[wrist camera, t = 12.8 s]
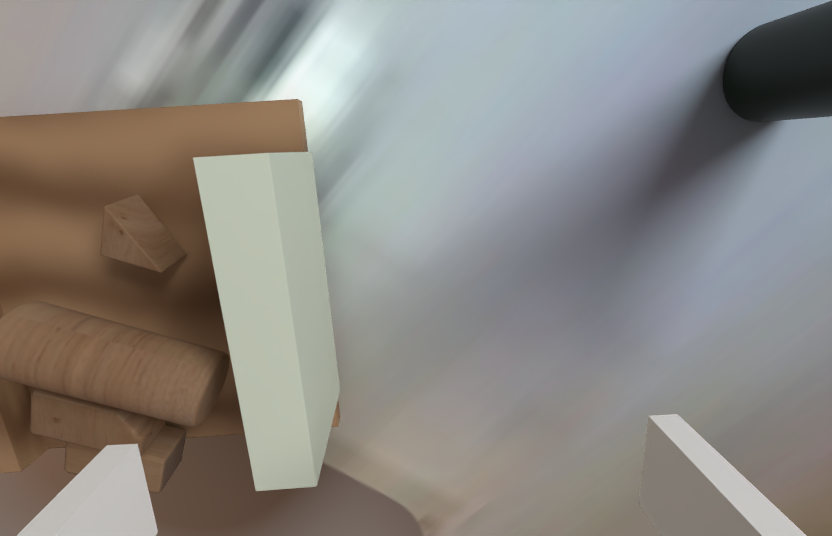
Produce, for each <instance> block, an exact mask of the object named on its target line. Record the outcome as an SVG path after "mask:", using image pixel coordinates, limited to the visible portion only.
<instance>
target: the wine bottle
mask: <svg viewBox="0 0 832 536" xmlns="http://www.w3.org/2000/svg"><path fill="white" fill-rule="evenodd" d="M723 86H724V93H725V96H726V99H727V101H728V103H729V105H730V107H731V108H732V109H733V110H734V111H735V112H736V113H737V114H738V115H739V116H741V117H743V118H745V119H747V120H751V121H757V122H763V121H777V120H790V119H803V118H816V117H829V116H832V1H830V2H827V3H824V4H821V5H818V6H815V7H812V8H809V9H806V10H804V11H801V12H798V13H795V14H792V15H789V16H786V17H783V18H780V19H777V20H774V21H772V22H769V23H766V24H763V25H760V26H758V27H756V28H755V29H753V30H751V31H750V32H749V33H747V34H746V35H745V36H744V37H743V38H742V39H741V40H740V41H739V42H738V43H737V45H736V46H735V47H734V49H733V50H732V52H731V54H730V56H729V58H728V60H727V63H726V66H725V70H724V77H723Z"/></svg>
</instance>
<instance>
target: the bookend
mask: <svg viewBox="0 0 832 536" xmlns="http://www.w3.org/2000/svg"><path fill="white" fill-rule="evenodd" d="M193 161H194V166H195V171H196V177H197V182H198V187H199V192H200V198H201V203H202V208H203V214H204V219H205V224H206V230H207V235H208V240H209V245H210V251H211V256H212V261H213V267H214V272H215V277H216V283H217V288H218V293H219V298H220V304H221V309H222V314H223V320H224V325H225V330H226V336H227V341H228V346H229V351H230V357H231V362H232V367H233V373H234V378H235V383H236V389H237V394H238V399H239V404H240V410H241V415H242V420H243V426H244V431H245V436H246V441H247V447H248V452H249V457H250V463H251V468H252V473H253V478H254V484H255V489H256V491H264V490H275V489H289V488H302V487H314V486H317V483H318V479H319V475H320V471H321V467H322V463H323V459H324V454H325V450H326V446H327V442H328V438H329V434H330V430H331V426H332V421H333V417H334V413H335V409H336V405H337V401H338V397H339V393H340V385H339V377H338V368H337V360H336V351H335V343H334V335H333V326H332V318H331V310H330V301H329V293H328V284H327V276H326V268H325V259H324V251H323V242H322V234H321V226H320V217H319V209H318V201H317V192H316V184H315V175H314V167H313V159H312V152H281V153H258V154H242V155H226V156H210V157H194V158H193Z"/></svg>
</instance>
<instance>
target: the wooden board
mask: <svg viewBox="0 0 832 536" xmlns="http://www.w3.org/2000/svg"><path fill="white" fill-rule="evenodd" d="M281 152H308V148H307V140H306V132H305V124H304V115H303V107H302V101H300V100H298V99H292V100H276V101H259V102H243V103H226V104H209V105H193V106H176V107H160V108H143V109H127V110H110V111H93V112H77V113H60V114H44V115H27V116H10V117H0V318H1V317H2V316H3V315H4V314H5V313H7V312H8V311H10V310H11V309H13V308H14V307H16V306H18V305H20V304H23V303H26V302H34V301H42V302H46V303H50V304H53V305H57V306H60V307H64V308H68V309H71V310H75V311H78V312H82V313H86V314H89V315H93V316H97V317H100V318H104V319H107V320H111V321H115V322H118V323H122V324H125V325H129V326H133V327H136V328H140V329H143V330H147V331H151V332H154V333H158V334H162V335H165V336H169V337H172V338H176V339H180V340H183V341H187V342H190V343H194V344H198V345H201V346H205V347H208V348H212V349H216V350H219V351H223V352H225V353H226V354H227V355H229V369H228V373H227V377H226V380H225V383H224V385H223V388H222V390H221V393H220V395H219V397H218V399H217V401H216V403H215V405H214V407H213V408H212V410H211V412H210V413H209V415H208V416H207V418H206V419H205V420H204V421H203V422H202V423H201V424H200V425H199V426H195V427H189V426H185V425H181V424H177V423H173V422H169V421H165V424H167V425H171V426H175V427H179V428H183V429H185V430H186V437H185V438H193V437H207V436H220V435H233V434H245V431H244V426H243V420H242V415H241V410H240V404H239V399H238V394H237V389H236V383H235V378H234V373H233V367H232V362H231V357H230V351H229V346H228V341H227V336H226V330H225V325H224V320H223V314H222V309H221V304H220V298H219V293H218V288H217V283H216V277H215V272H214V267H213V261H212V256H211V251H210V245H209V240H208V235H207V230H206V224H205V219H204V214H203V208H202V203H201V198H200V192H199V187H198V182H197V177H196V171H195V166H194V161H193V158H194V157H210V156H226V155H242V154H258V153H281ZM134 195H139V196H140V197H141V199H142V200H143V201H144V202H145V204H146V205H147V206H148V207H149V208H150V210H151V211H152V212H153V213H154V215H155V216H156V217H157V218H158V219H159V221H160V222H161V223H162V224H163V226H164V227H165V228H166V229H167V230H168V232H169V233H170V234H171V235H172V237H173V238H174V239H175V240H176V241H177V243H178V244H179V245H180V246H181V248H182V249H183V250H184V251H185V252H186V254H187V255H186V256H185V257H183V258H182V259H181V260H179V261H178V262H176V263H175V264H173V265H172V266H171V267H169V268H168V269H166V270H165V271H163V272H162V273H159V272H156V271H152V270H149V269H146V268H142V267H139V266H135V265H132V264H128V263H125V262H122V261H118V260H115V259H111V258H108V257H105V256H101V255H100V251H101V239H102V227H103V214H104V206H106V205H109V204H112V203H115V202H117V201H120V200H123V199H126V198H129V197H131V196H134ZM36 389H37V388H35V387H32V386H28V385H24V384H20V383H16V382H12V381H8V380H4V379H0V473H11V472H21V471H23V470H24V469H25V468H26V467H27V466H29V465H30V464H31V463H32V462H33V461H34V460H35V459H37V458H38V457H39V456H40V455H41V454H43V453H44V452H45V451H46V450H47V449H49V448H61V447H62V448H63V447H66V442H65V441H60V440H56V439H52V438H48V437H44V436H40V435H36V434H33V433H31V431H30V423H31V395H32V393H33V391H34V390H36ZM339 419H340V412H339V404H338V401H337V405H336V409H335V413H334V417H333V421H332V426H331V427H338V424H339Z"/></svg>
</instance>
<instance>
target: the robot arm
mask: <svg viewBox="0 0 832 536" xmlns="http://www.w3.org/2000/svg"><path fill="white" fill-rule="evenodd" d="M639 505H640V506H641V508H642V509H643V511H644V512H645V513H646V515H647V516H648V518H649V519H650V521H651V522H652V524H653V525H654V527H655V528H656V530H657V531H658V532H659V534H660V535H661V536H806V535H805V534H804V533H803V532H802V531H801V530H800V529H799V528H798V527H797V526H796V525H795V524H793V523H792V522H791V521H790V520H789V519H788V518H787V517H786V516H785V515H784V514H783V513H782V512H781V511H780V510H779V509H778V508H776V507H775V506H774V505H773V504H772V503H771V502H770V501H769V500H768V499H767V498H766V497H765V496H764V495H763V494H762V493H761V492H759V491H758V490H757V489H756V488H755V487H754V486H753V485H752V484H751V483H750V482H749V481H748V480H747V479H746V478H745V477H744V476H742V475H741V474H740V473H739V472H738V471H737V470H736V469H735V468H734V467H733V466H732V465H731V464H730V463H729V462H728V461H727V460H725V459H724V458H723V457H722V456H721V455H720V454H719V453H718V452H717V451H716V450H715V449H714V448H713V447H712V446H711V445H710V444H708V443H707V442H706V441H705V440H704V439H703V438H702V437H701V436H700V435H699V434H698V433H697V432H696V431H695V430H694V429H693V428H691V427H690V426H689V425H688V424H687V423H686V422H685V421H684V420H683V419H682V418H681V417H680V416H679V415H678V414H674V415H655V416H648V425H647V434H646V443H645V452H644V461H643V470H642V479H641V488H640V496H639ZM157 533H158V530H157V526H156V522H155V517H154V513H153V508H152V504H151V500H150V496H149V491H148V487H147V482H146V478H145V474H144V469H143V465H142V461H141V456H140V452H139V448H138V444H123V445H107V446H106V447H105V448H104V449H103V450H102V451H101V452H100V453H99V454H98V455H97V456H96V457H95V458H94V459H93V460H92V461H91V462H90V463H89V464H88V465H87V466H86V467H85V468H84V469H83V470H82V471H81V472H80V473H79V474H78V475H77V476H76V477H75V478H74V479H73V480H72V481H71V482H70V483H69V484H68V485H67V486H66V487H65V488H64V489H63V490H62V491H61V492H60V493H59V494H58V495H57V496H56V497H55V498H54V499H53V500H52V501H51V502H50V503H49V504H48V505H47V506H46V507H45V508H44V509H43V510H42V511H41V512H40V513H39V514H38V515H37V516H36V517H35V518H34V519H33V520H32V521H31V522H30V523H29V524H28V525H27V526H26V527H25V528H24V529H23V530H22V531H21V532H20V533H19V534H18V535H17V536H156V534H157Z"/></svg>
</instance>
